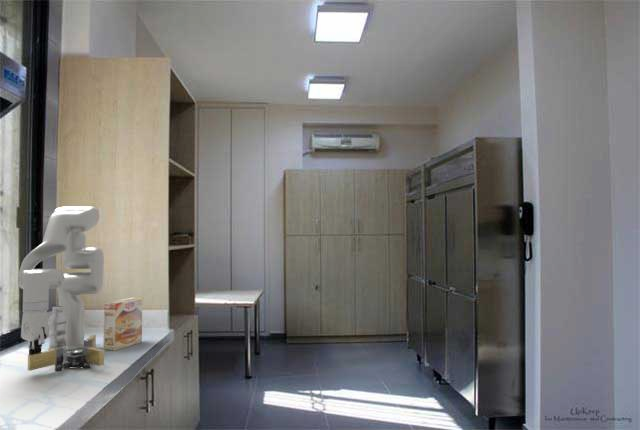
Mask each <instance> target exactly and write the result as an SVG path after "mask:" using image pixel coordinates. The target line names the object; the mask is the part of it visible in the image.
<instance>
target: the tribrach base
mask: <svg viewBox="0 0 640 430" xmlns="http://www.w3.org/2000/svg"><path fill="white" fill-rule="evenodd" d="M82 356H83V349H82V348H80V349H74V350H71V351H68V352H67V353H65V354H63V363H62V370H67V368H68V369H71V368H70V367H77V368H80V367H83V362H82ZM64 362H65V363H64Z"/></svg>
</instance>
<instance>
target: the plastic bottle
mask: <svg viewBox="0 0 640 430" xmlns="http://www.w3.org/2000/svg"><path fill="white" fill-rule="evenodd" d="M63 309H64V307H63V306H59V305H57V306H53V307H52V310H51V311H52V314H51V315H50V316H49V318H48V336H49V341H48V342H49V343H48V348H47V351H48V350H53V349H56V348H63V354H65V353H68V352H69V350H67V345H66V326H67V317H66V316H65V314H64V313H63V311H64V310H63Z"/></svg>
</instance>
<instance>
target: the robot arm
mask: <svg viewBox="0 0 640 430" xmlns="http://www.w3.org/2000/svg"><path fill="white" fill-rule="evenodd" d="M99 221H100V212H99V209H97V207H94V206H75V205H74V206H72V205H71V206H61V207H57V208H55V209H54V211H53V213H52V214H51V215H50V216H49V219H48V223H47V225H46V229H45V233H44V237H43V240H42V242H41V243H40V244H39V245H38V246H36V247H34V249H32V250H31V251H30V252H28V254H27V255H25V257H24V258H23V260H22V262H21V265H20V268H19V272H18V276H17V285H18V287H19V288H20V289H22V317H21V318H22V319H21V327H20V329H21V330H20V338H21V339H23V340H25V341H27V343H28V355H30V354H35V353H39V352H42V348H43V345H44V344H45V340H46V339H47V338H48V337H49V326H48V320H49V318H48V316H49V315H48V311H49V307H50V306H49V301H50V300H49V298H50V297H49V295H50V294H49V293H50V291H49V290H55V289H56V290H57V295H58V306H63V307H64V309H63V310H64V311H63V313H64V314H65V316H66V317H67V326H66V345H67V350H68V351H75V350H79V349H83V347H84V340H85V313H86V312H85V310H86V309H85V302H84V300H83V299H82V297H80V296H81V295H95V294H96V295H97V294H99V293H101V292H102V289H103V285H104V270H105V269H104V268H105V267H104V266H105V264H104V263H105V258H104V257H105V255H104V252H103V250H102V249H101V248H100V247H97V246H90V247H89V246H86V243H87V242H86V239H87V237H86V234H85V233H84V232H88V231H90V230H92V229H94V227H96V225H97V224H98V223H99ZM59 254H62V260H61V261H62V266H63V268H65V269H66V270H90V271H88V272H86V271H84V272H82V271H79V272H77V271H76V272H65V273H64V272H63V270H61V269H59V268H36V266H37V265H38V264H39V263H42V261H44V260H46V259H49V258H51V257H54V256H56V255H59Z"/></svg>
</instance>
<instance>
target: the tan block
mask: <svg viewBox="0 0 640 430" xmlns="http://www.w3.org/2000/svg"><path fill="white" fill-rule="evenodd" d="M82 350H83V356H82V362H83V368H84V369H83V368H82V369H83V370H88V368H89V369H91V365H95V366H98V367H101V366H104V365H105V349H101V348H96V347H95V348H93V347H91V346H85V347H83V348H82Z"/></svg>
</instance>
